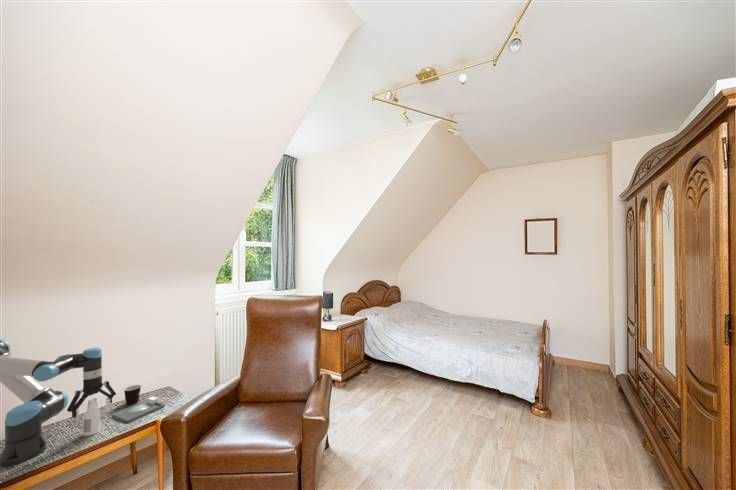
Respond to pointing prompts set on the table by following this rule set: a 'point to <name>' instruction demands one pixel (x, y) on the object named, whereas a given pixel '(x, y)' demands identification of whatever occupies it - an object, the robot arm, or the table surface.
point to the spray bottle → (92, 418)
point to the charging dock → (138, 410)
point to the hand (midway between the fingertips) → (92, 416)
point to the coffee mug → (132, 394)
